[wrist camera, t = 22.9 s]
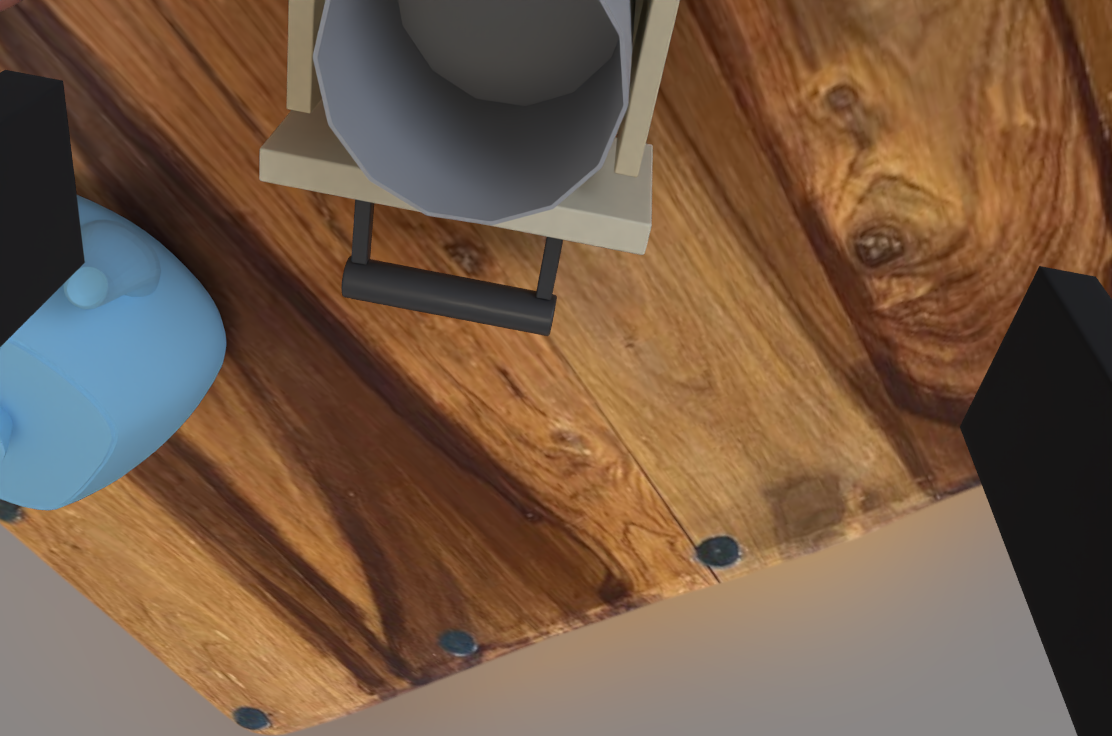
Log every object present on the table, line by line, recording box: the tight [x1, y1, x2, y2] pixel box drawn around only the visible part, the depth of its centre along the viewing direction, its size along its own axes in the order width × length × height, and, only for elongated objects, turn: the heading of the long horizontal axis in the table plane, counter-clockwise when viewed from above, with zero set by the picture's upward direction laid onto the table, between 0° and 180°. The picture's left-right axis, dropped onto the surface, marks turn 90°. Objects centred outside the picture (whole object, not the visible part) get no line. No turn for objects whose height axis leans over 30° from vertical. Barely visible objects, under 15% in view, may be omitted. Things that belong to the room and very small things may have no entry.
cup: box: [313, 0, 635, 225], centre depth 31 cm, size 8×8×10 cm
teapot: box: [0, 195, 226, 510], centre depth 42 cm, size 13×11×18 cm
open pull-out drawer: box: [259, 0, 680, 336], centre depth 34 cm, size 21×13×7 cm, turn 170°
